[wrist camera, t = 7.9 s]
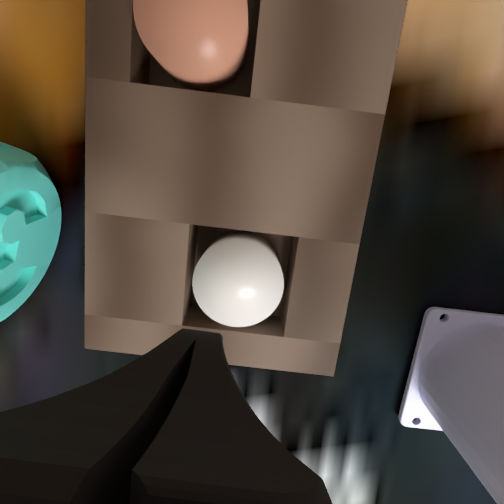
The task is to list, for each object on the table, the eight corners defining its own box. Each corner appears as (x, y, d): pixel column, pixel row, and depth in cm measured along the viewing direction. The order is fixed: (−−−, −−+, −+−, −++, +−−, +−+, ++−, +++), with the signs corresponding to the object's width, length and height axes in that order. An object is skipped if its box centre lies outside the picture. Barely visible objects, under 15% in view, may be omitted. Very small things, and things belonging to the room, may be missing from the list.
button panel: (396, -58, 15) (429, -113, 12) (322, 347, 20) (333, 376, 17) (118, -95, 15) (86, -160, 12) (109, 323, 20) (84, 348, 17)
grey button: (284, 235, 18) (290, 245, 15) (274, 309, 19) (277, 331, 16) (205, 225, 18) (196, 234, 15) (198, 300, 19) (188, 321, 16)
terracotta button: (254, -8, 15) (254, -50, 12) (243, 96, 16) (241, 79, 13) (157, -21, 15) (135, -66, 12) (152, 84, 16) (131, 65, 13)
